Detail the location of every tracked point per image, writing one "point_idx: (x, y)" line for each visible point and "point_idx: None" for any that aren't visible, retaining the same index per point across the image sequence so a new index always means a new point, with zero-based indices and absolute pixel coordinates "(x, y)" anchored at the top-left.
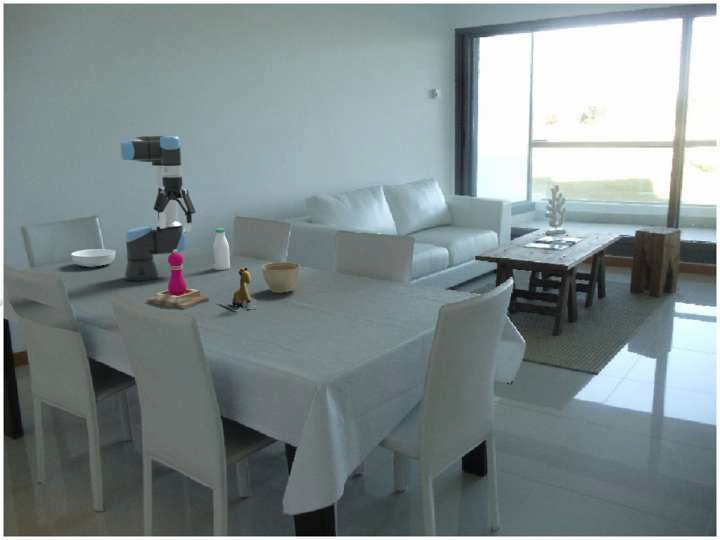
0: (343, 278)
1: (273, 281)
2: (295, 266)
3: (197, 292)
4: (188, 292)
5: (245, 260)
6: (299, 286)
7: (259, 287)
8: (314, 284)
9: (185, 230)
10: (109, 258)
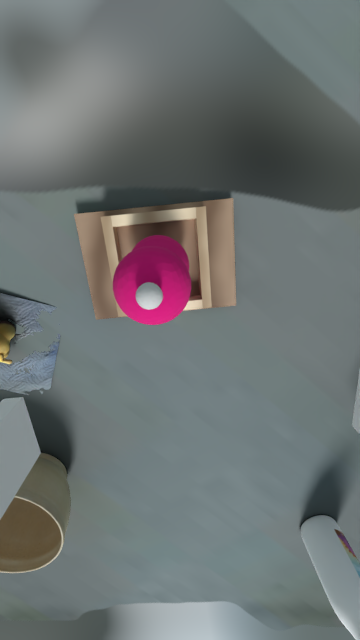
0: (27, 589)
1: None
2: (8, 560)
3: (117, 305)
4: None
5: (323, 590)
6: None
7: (106, 465)
8: None
9: (8, 404)
10: None
